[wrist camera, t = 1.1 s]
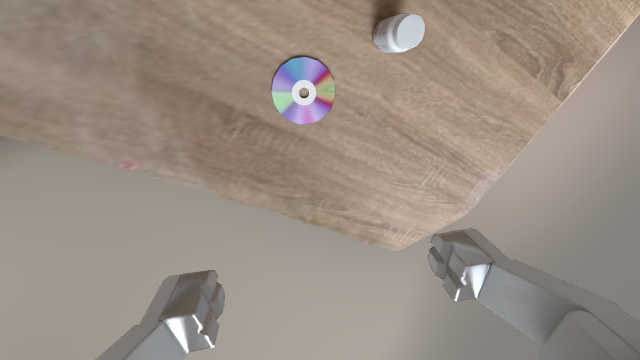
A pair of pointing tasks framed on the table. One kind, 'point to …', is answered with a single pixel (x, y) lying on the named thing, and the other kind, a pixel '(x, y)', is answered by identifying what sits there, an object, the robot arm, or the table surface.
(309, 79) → the cd
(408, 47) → the pill bottle
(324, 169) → the table surface
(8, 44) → the table surface
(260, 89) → the table surface
